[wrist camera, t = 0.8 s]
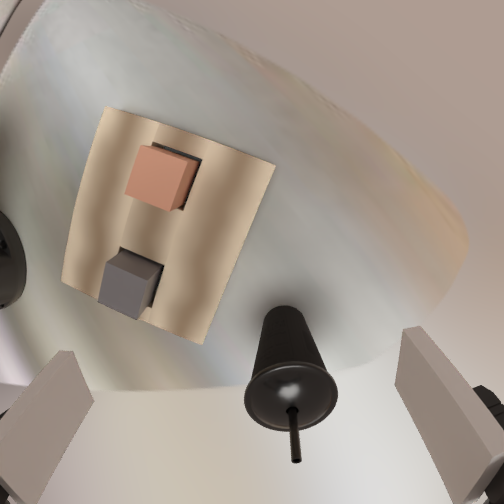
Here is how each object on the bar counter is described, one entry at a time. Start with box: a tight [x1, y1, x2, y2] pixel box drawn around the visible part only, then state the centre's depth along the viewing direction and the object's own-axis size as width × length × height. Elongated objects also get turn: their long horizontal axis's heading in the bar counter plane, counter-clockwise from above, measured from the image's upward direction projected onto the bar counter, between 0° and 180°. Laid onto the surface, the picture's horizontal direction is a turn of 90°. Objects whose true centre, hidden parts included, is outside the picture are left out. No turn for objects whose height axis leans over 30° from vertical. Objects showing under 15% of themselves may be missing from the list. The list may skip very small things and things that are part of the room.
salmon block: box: [124, 145, 199, 212], centre depth 28 cm, size 4×4×5 cm
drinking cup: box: [244, 306, 338, 463], centre depth 28 cm, size 8×8×20 cm
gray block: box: [98, 249, 163, 320], centre depth 31 cm, size 4×4×5 cm
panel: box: [61, 106, 276, 345], centre depth 33 cm, size 18×20×4 cm
